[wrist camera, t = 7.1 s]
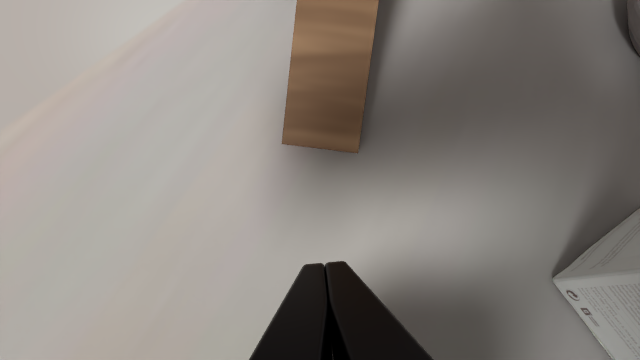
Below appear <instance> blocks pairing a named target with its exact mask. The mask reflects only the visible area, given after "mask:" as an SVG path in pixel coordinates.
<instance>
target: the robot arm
mask: <svg viewBox="0 0 640 360" xmlns="http://www.w3.org/2000/svg"><path fill="white" fill-rule="evenodd" d="M332 354H333V356H332ZM249 360H433V359H432V357H431V356H430V355H429V354H428V353H427V352H426V351H425V350H424V349H423V347H422V346H421V345H420V344H419V343H418V342H417V341H416V340H415V339H414V337H413V336H412V335H411V334H410V333H409V332H408V331H407V330H406V329H405V327H404V326H403V325H402V324H401V323H400V322H399V321H398V320H397V319H396V317H395V316H394V315H393V314H392V313H391V312H390V311H389V310H388V309H387V307H386V306H385V305H384V304H383V303H382V302H381V301H380V300H379V299H378V297H377V296H376V295H375V294H374V293H373V292H372V291H371V290H370V289H369V288H368V286H367V285H366V284H365V283H364V282H363V281H362V280H361V279H360V278H359V276H358V275H357V274H356V273H355V272H354V271H353V270H352V269H351V268H350V266H349V265H348V264H347V263H346V262H344V261H338V262H328V263H326V264H325V267H324V265H323V264H322V263H316V264H306V265H304V266H303V267H302V269H301V271H300V272H299V274H298V276H297V278H296V279H295V281H294V283H293V284H292V286H291V288H290V290H289V291H288V293H287V295H286V297H285V298H284V300H283V302H282V303H281V305H280V307H279V309H278V310H277V312H276V314H275V316H274V317H273V319H272V321H271V322H270V324H269V326H268V328H267V329H266V331H265V333H264V335H263V336H262V338H261V340H260V341H259V343H258V345H257V347H256V348H255V350H254V352H253V354H252V355H251V357H250V359H249Z"/></svg>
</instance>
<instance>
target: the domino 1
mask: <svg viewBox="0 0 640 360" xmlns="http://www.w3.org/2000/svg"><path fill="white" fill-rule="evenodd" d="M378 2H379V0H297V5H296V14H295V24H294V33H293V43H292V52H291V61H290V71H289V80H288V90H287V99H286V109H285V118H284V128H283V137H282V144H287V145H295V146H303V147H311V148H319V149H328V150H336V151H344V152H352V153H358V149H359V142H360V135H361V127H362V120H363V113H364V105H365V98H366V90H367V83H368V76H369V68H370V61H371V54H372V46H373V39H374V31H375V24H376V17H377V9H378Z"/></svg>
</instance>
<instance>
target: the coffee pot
mask: <svg viewBox="0 0 640 360" xmlns="http://www.w3.org/2000/svg"><path fill="white" fill-rule="evenodd" d="M627 12H628V28H629V35H630V38H631V41H632V43H633V46H634V48H635V49H636V51H637V52H638V54H639V55H640V0H627Z"/></svg>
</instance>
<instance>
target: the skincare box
mask: <svg viewBox="0 0 640 360" xmlns="http://www.w3.org/2000/svg"><path fill="white" fill-rule="evenodd" d="M552 280H553V282H554V284H555V285H556V286H557V288H558V289H559V290H560V292H561V293H562V294H563V296H564V297H565V298H566V299H567V300H568V301H569V303H570V304H571V305H572V307H573V308H574V309H575V310H576V312H577V313H578V314H579V316H580V317H581V318H582V320H583V321H584V322H585V324H586V325H587V326H588V327H589V329H590V331H591V332H592V333H593V335H594V336H595V337H596V339H597V340H598V341H599V343H600V344H601V345H602V346H603V348H604V349H605V350H606V351H607V353H608V354H609V356H610V357H611V358H612V359H613V360H640V208H639V209H638V210H636V211H635V212H634V213H633V214H632V215H630V216H629V217H628V218H627V219H625V220H624V221H623V222H622V223H620V224H619V225H618V226H616V227H615V228H614V229H613V230H611V231H610V232H609V233H608V234H606V235H605V236H604V237H602V238H601V239H600V240H599V241H598V242H596V243H595V244H594V245H593V246H591V247H590V248H589V249H588V250H586V251H585V252H584V253H583V254H582V255H581V256H579V257H578V258H577V259H576V260H575V261H574V262H573V263H572V264H571V265H570V266H568V267H567V268H566V269H564V270H563V271H562V272H560V273H559V274H557V275H556V276H555V277H553V279H552Z"/></svg>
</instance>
